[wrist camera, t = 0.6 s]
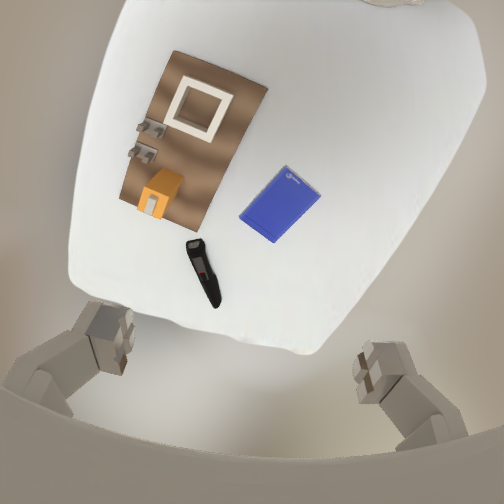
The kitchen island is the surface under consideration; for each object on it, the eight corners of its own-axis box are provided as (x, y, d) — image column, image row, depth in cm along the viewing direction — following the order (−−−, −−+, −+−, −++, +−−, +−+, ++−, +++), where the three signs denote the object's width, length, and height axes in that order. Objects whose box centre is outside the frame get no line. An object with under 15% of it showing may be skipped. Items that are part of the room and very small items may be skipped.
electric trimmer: (209, 300, 66) (207, 310, 64) (185, 240, 58) (181, 249, 56) (225, 298, 66) (224, 308, 63) (203, 237, 58) (200, 246, 55)
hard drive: (285, 166, 48) (238, 218, 54) (321, 196, 51) (274, 244, 56) (285, 163, 50) (239, 214, 55) (320, 193, 52) (273, 239, 58)
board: (175, 51, 39) (166, 49, 35) (267, 88, 43) (268, 89, 39) (121, 196, 53) (111, 206, 49) (198, 229, 56) (193, 242, 52)
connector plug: (162, 167, 49) (141, 189, 40) (183, 176, 50) (166, 200, 41) (155, 187, 51) (134, 212, 42) (175, 196, 52) (158, 223, 43)
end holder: (188, 75, 40) (183, 75, 38) (235, 94, 42) (233, 95, 40) (168, 120, 44) (162, 123, 42) (213, 139, 46) (210, 143, 44)
